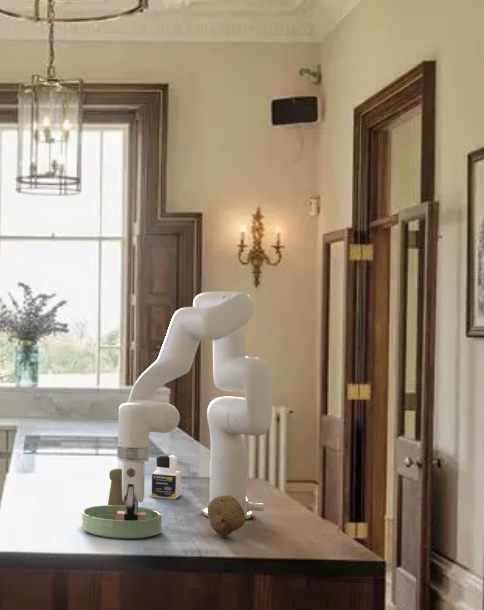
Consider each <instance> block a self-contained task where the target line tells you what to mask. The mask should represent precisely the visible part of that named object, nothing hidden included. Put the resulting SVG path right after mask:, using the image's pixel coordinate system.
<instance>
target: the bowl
mask: <svg viewBox="0 0 484 610" xmlns="http://www.w3.org/2000/svg"><path fill="white" fill-rule="evenodd" d="M118 511H125V506H123V505H108V504H107V505H95V506H94V505H93V506H89V507H86V508H84V509H82V512H81V528H82V530H83V531H85V532H86V533H89V534H92V535H95V536H98V537H101V538H102V537H103V538H110V539H117V540H118V539H119V540H135V539H136V540H137V539H146V538H150V537H153V536H156V535H159V534H160V533H162V519H163V518H162V515H163V514H162V513H161V512H160V511H158V510H155V509H151V508H148V507H143V506H138V511H137V512H143V513H146V520H135V521H123V520H116V516H117V512H118Z"/></svg>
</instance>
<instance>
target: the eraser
mask: <svg viewBox="0 0 484 610" xmlns="http://www.w3.org/2000/svg"><path fill="white" fill-rule="evenodd" d="M124 514H125V511H118V512H117V516H116V520H123V521H124ZM136 515H138V520H146V513H143V512H137V514H136Z"/></svg>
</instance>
